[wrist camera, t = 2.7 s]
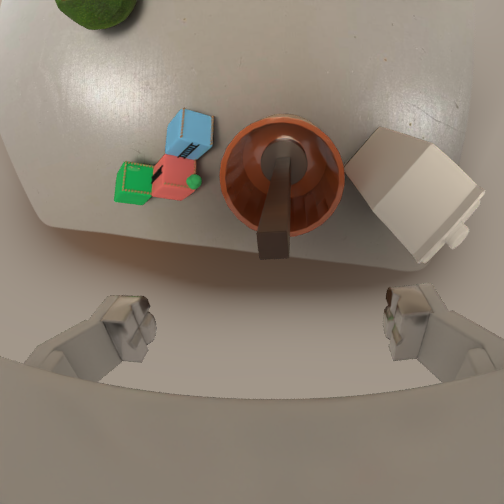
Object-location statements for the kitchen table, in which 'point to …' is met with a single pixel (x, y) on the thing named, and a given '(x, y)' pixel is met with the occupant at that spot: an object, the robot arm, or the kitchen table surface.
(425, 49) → the kitchen table surface
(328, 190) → the crock
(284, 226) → the ladle
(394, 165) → the milk carton
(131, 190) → the building blocks
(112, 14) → the avocado
